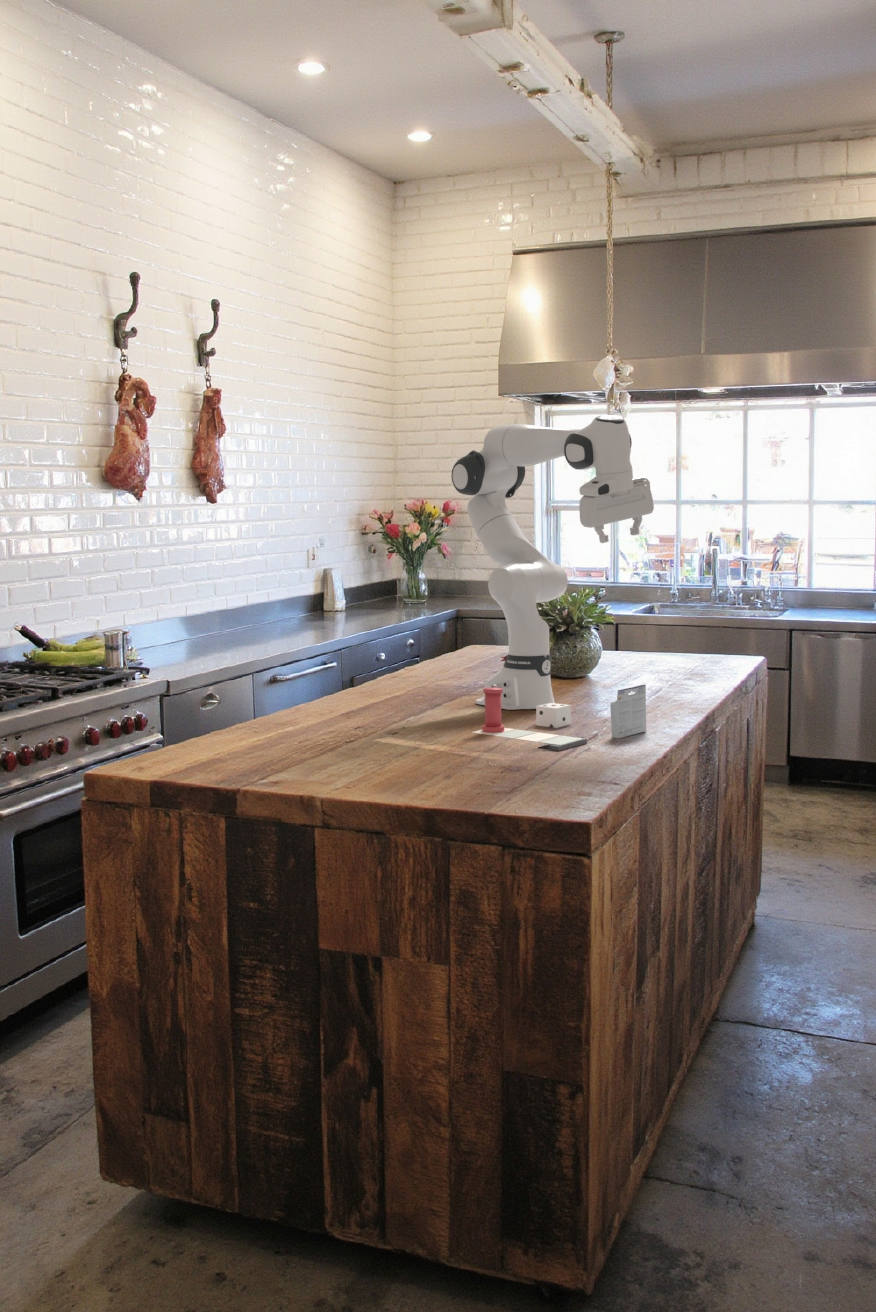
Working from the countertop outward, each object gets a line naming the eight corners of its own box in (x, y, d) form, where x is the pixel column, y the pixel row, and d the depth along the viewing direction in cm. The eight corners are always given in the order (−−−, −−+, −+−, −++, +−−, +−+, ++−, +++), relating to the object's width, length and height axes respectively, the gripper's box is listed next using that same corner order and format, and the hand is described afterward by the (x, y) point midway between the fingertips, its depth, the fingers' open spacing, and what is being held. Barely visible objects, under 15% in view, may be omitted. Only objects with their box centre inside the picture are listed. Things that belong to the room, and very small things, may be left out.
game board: (468, 737, 272) (468, 732, 272) (497, 730, 281) (497, 725, 281) (558, 751, 255) (558, 745, 255) (586, 743, 264) (586, 738, 264)
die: (536, 730, 281) (536, 705, 280) (550, 726, 285) (550, 702, 285) (556, 733, 277) (556, 708, 276) (571, 729, 281) (571, 704, 281)
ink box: (638, 731, 278) (639, 683, 277) (646, 732, 276) (647, 684, 275) (609, 737, 270) (609, 688, 269) (617, 739, 268) (617, 689, 267)
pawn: (477, 731, 274) (477, 689, 273) (491, 727, 278) (491, 686, 277) (495, 733, 271) (494, 691, 269) (508, 730, 275) (508, 688, 273)
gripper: (640, 474, 289) (645, 529, 293) (573, 489, 280) (578, 545, 284) (656, 476, 284) (661, 531, 288) (588, 491, 275) (594, 548, 279)
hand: (619, 538), depth 286 cm, fingers open, 8 cm apart
